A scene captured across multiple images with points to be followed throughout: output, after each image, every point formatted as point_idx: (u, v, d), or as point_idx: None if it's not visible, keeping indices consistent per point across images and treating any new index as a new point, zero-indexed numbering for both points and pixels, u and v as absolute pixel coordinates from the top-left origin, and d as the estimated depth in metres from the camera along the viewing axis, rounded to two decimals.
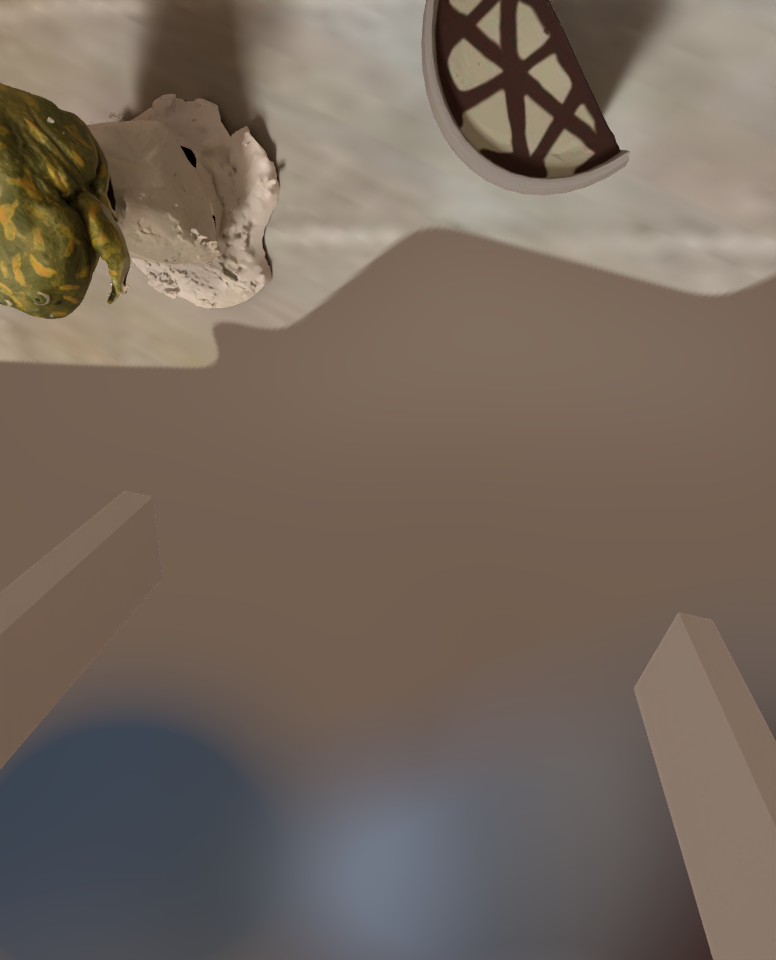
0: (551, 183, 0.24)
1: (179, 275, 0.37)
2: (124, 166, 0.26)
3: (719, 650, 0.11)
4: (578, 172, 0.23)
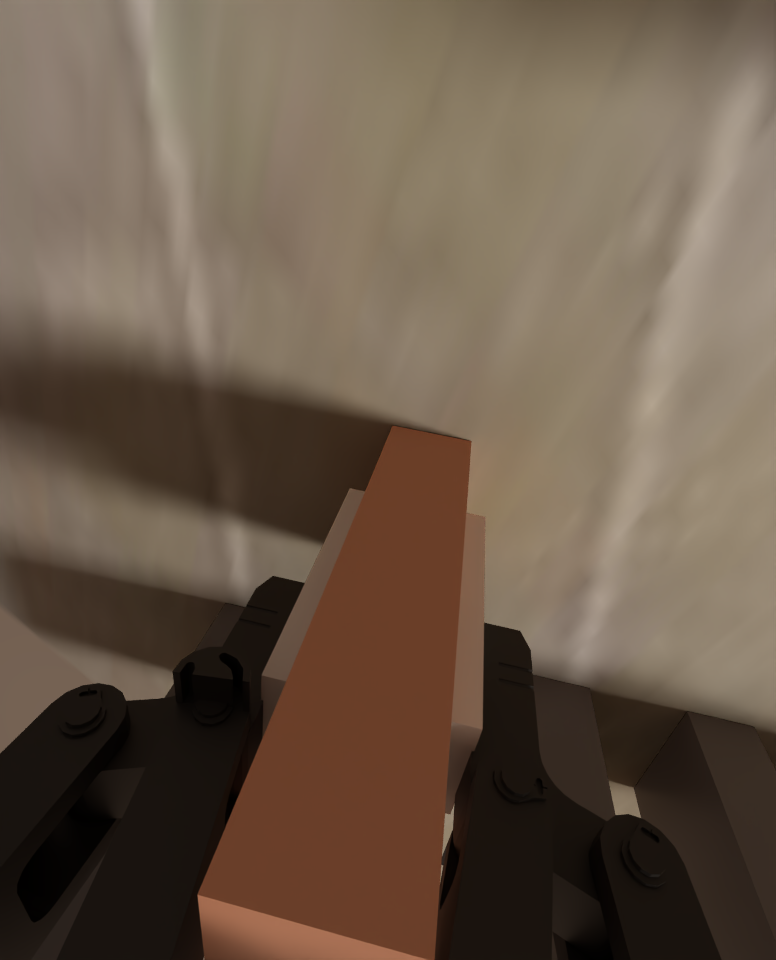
0: None
1: None
2: None
3: (477, 535, 0.13)
4: None
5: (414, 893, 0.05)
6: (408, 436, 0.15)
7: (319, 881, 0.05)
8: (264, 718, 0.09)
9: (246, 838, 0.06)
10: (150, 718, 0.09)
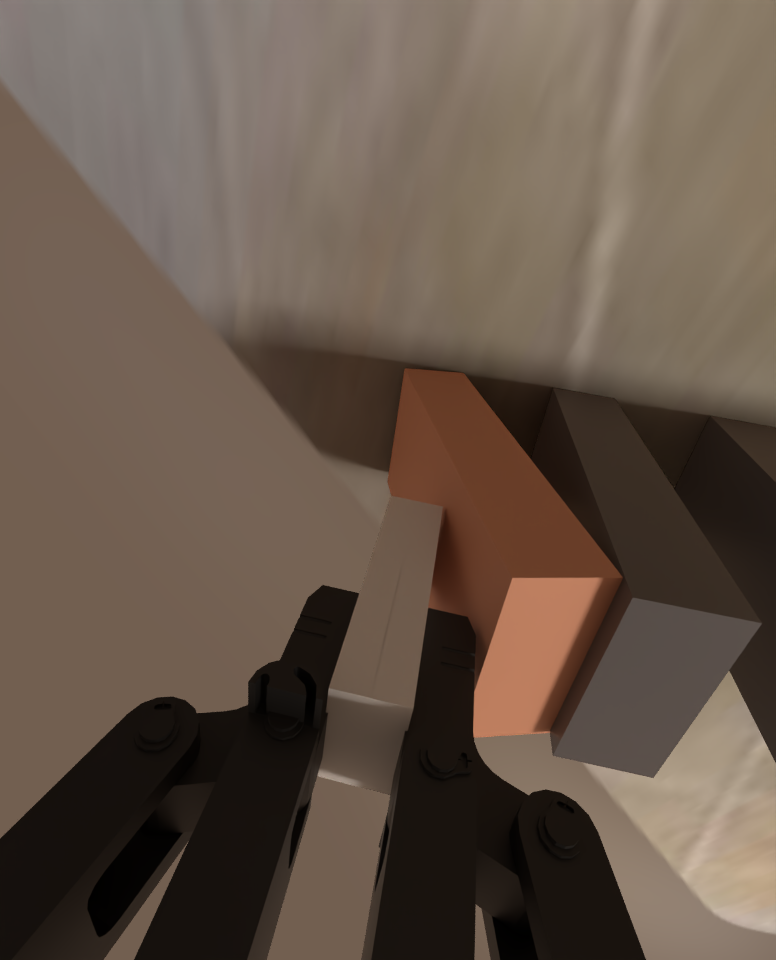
0: None
1: None
2: None
3: (432, 524, 0.13)
4: None
5: (599, 561, 0.11)
6: (421, 373, 0.20)
7: (558, 564, 0.10)
8: (327, 730, 0.09)
9: (514, 558, 0.10)
10: (219, 731, 0.09)
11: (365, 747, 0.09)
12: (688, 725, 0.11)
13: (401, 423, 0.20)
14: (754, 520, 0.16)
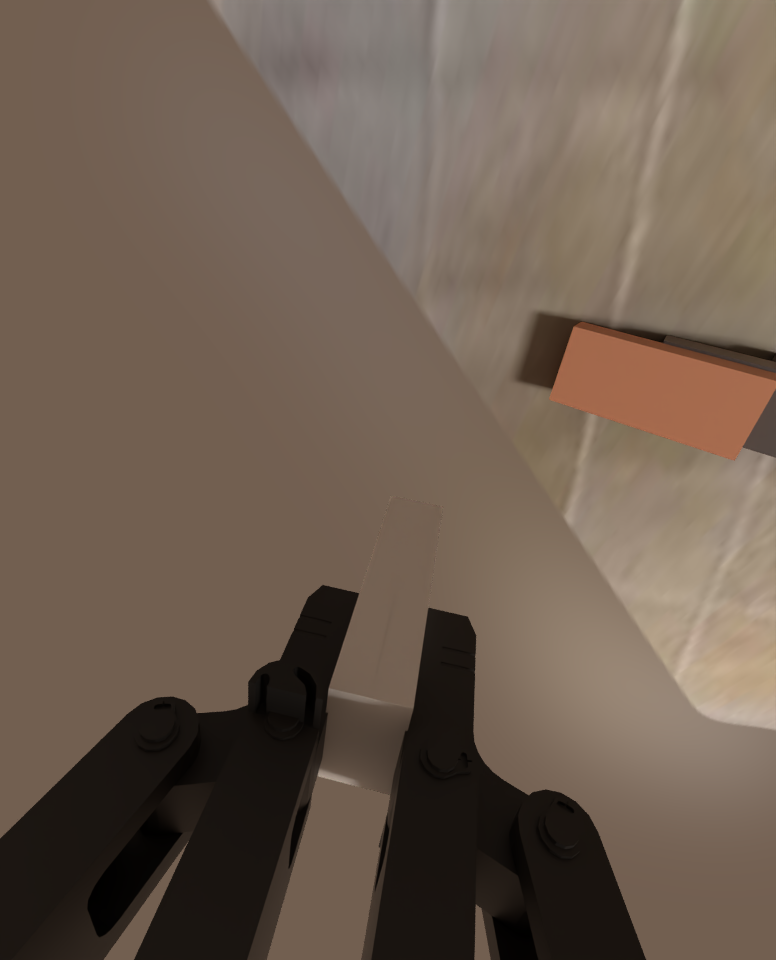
0: None
1: None
2: None
3: (432, 524, 0.13)
4: None
5: (767, 371, 0.31)
6: (583, 327, 0.34)
7: (770, 375, 0.30)
8: (327, 730, 0.09)
9: (768, 377, 0.30)
10: (219, 731, 0.09)
11: (365, 747, 0.09)
12: None
13: (577, 358, 0.34)
14: None
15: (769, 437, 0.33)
